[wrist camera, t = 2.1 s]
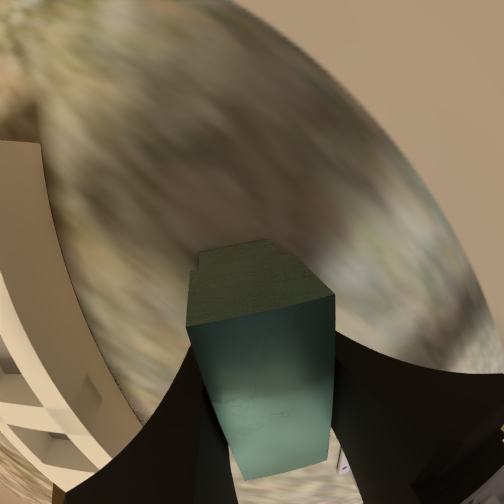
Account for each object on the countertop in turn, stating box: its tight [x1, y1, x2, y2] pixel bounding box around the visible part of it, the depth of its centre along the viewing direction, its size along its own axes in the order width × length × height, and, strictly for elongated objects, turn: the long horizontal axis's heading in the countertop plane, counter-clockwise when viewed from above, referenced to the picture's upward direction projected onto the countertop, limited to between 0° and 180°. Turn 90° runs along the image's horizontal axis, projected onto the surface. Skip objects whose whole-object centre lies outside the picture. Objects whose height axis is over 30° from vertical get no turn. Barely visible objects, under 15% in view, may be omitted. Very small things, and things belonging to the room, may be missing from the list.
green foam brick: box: [186, 239, 335, 481], centre depth 9 cm, size 7×3×6 cm, turn 9°
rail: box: [0, 140, 143, 492], centre depth 9 cm, size 20×7×4 cm, turn 9°
